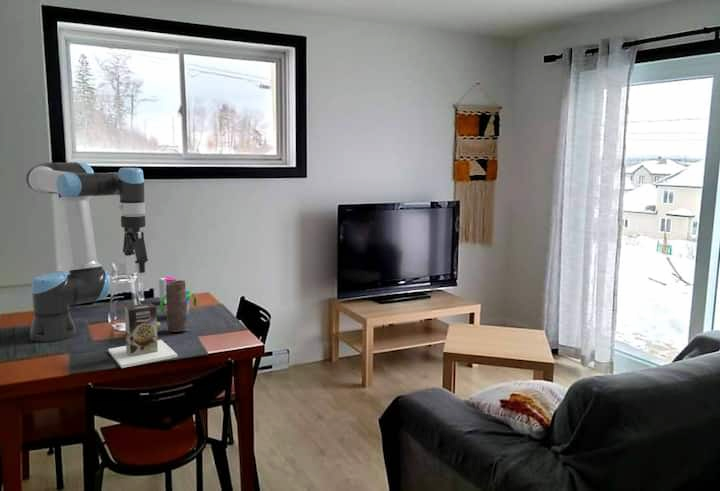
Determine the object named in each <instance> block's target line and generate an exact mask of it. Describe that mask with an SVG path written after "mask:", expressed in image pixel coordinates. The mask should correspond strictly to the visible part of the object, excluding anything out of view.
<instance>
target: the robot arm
mask: <svg viewBox="0 0 720 491" xmlns="http://www.w3.org/2000/svg"><path fill="white" fill-rule="evenodd" d="M24 180H25V184H26V185H27V187H28V188H29V189H30V190H32V191H34V192H36V193H40V194H44V195H45V194H46V195H47V194H49V195H54V194H57V195H58V199H59V200H60V201H61V202H63V204H64V210H65V211H64V212H65V218H66V225H67V232H68V239H69V245H70V246H69V247H70V253H71V260H72V265H71V266H70V268H69V271H68V272H69V274H67V272H65V271H52V272H45V273H44V274H39V275H38V276H36V277H34V278H33V279H32V281H31V296H32V310H33V320H32V324H31V325H30V326H31V327H30V331H29V339H30V340H31V341H34V342H38V343H39V342H40V343H46V342H57V341H62V340H65V339H69V338H71V337H74V336H75V335H76V333H77V329H76V325H75V322H74V321H73V320H74V319H73V318H72V315H71V312H70V306H74V305H81V304H87V303H91V302H95V303H96V302H97V301H101V300H104V299H106V298H107V296H108V295H109V293H110V290H111V283H112V282H111V275H110V273H109V271H108V270H106V269H103V265H102V264H101V263H100V262H98V255H97V249H96V243H95V235H94V229H93V222H92V215H91V208H90V207H91V206H90V200H91V198H92V197H101V196H103V197H105V196H106V197H107V196H119V203H120V205H118V209H120V215H121V216H120V226H121V227H122V228H123V229H124V232H123V233H124V235H123V246H122V252H123V253H124V259H125V260H124V261H125V275H127V276H128V275H129V276H130V275H135V270H136V283H145V282H146V283H147V269H146V268H147V264H146V263H147V262H148V261H149V260H148V254H147V249H146V244H145V237H144V236H145V235H144V234H145V232H144V231H141V228H145V227H146V223H147V222H146V216H145V214H146V202H145V178H144V171H143V169H142V168H139V167H121V168H119V170H118V172H116V171H114V172H113V171H112V172H111V171H110V172H94V170H93V168H92V167H91V165H89V164H88V163H86V162H76V161H75V162H74V161H72V162H69V161H68V162H42V163H37V164H35V165H33V166H31V167H30V168H29V169H28V170H27V171H26V173H25V178H24ZM135 259H136V260H135ZM135 266H136V269H135Z"/></svg>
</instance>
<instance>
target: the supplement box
mask: <svg viewBox="0 0 720 491" xmlns="http://www.w3.org/2000/svg"><path fill="white" fill-rule="evenodd" d="M158 281H159V282H158V285H159V286H158V287H159V288H158V289H159V293H158V294H159V303H160V302H161V299H162V298H163V297H164V296H165V294H166V284H167V283H168V282H169V281H177V279H176V278H174V277H173V276H166V277H159V278H158ZM165 305H166V306H167V300H166V299H165V300H164V301H163V306H165Z"/></svg>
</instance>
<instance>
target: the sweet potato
mask: <svg viewBox="0 0 720 491" xmlns="http://www.w3.org/2000/svg"><path fill="white" fill-rule="evenodd" d="M186 291H187V289H186V280H181V279H179V280H176V281H169V282H168V283H167V284H166V298H167V304H166V321H167V324H166V325H167V331H168V332H173V333H178V332H186V331H188V316H187V308H186Z"/></svg>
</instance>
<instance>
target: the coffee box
mask: <svg viewBox="0 0 720 491" xmlns="http://www.w3.org/2000/svg"><path fill="white" fill-rule="evenodd" d="M124 319H125V320H124V324H125V346H126V351H127V352H128V354H129V355H130V356H136V355H141V354H147V353H152V352H157V351H158V344H157V340H158V331H157V322H158V321H157V320H158V319H157V306H156V305H154V304H153V303H152V302H149V303H142V304H133V305H126V306H124Z"/></svg>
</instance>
